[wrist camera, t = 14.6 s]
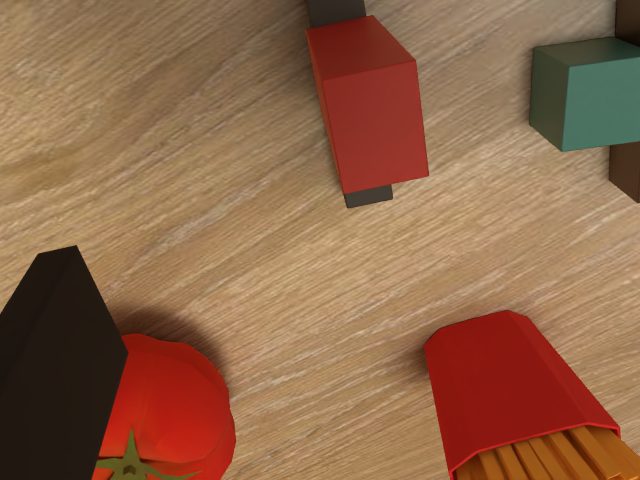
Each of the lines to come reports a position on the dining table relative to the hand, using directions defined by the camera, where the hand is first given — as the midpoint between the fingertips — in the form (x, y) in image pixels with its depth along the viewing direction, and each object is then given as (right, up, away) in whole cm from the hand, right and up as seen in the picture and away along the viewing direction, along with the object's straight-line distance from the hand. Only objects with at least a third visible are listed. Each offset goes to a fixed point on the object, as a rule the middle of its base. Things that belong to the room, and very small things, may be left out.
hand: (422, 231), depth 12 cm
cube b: (+11, +8, +19) cm, 23 cm away
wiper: (-1, +9, +17) cm, 19 cm away
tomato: (-12, -8, +26) cm, 30 cm away
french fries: (+8, -7, +27) cm, 29 cm away
